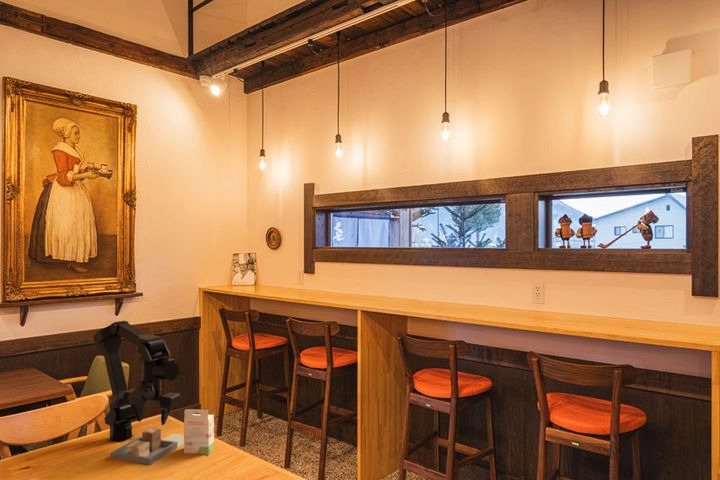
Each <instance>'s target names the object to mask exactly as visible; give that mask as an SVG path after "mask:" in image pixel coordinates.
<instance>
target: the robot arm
mask: <svg viewBox="0 0 720 480" xmlns="http://www.w3.org/2000/svg"><path fill="white" fill-rule="evenodd" d="M123 339H124V340H126V341H127V342H129V343H131V344H132V345H134V346H135V348H136V352H137V353H139V355H140V356H141V357H140V358H139V359H138V362H142V379H140V380H139V383H138V387H137V388H136V387H134V388H131V389H128V385H127V382H126V381H127V380H126V376H125V372H124V368H123V363H122V359H121V355H120V349H121V346H122V343H123ZM93 343H95V347H96V349H97V351H98V352H99V353H100V354H102V355H103V357H104V363H105V367H106V368H105V369H106V372H107V377H108V380H109V385H110V390H111V395H112V396H111V399H110V402H109V405H108V406H109V411H108V412H107V414H106V415H105V416H104V422H105V425H106V426H109V438H108V439H106V441H108V442H114V443H123V442H125V441H127V440H131V439H132V438H133V437H134V436H135V434H133V426H132V421H133V420H136V419H137V421H138V422H139V423H140V422H142V420H143V416H144V415H143V414H144V407H145V403H146V402H150V401H157V402H158V404H159V406H158V408H159V409H160V413H161V414H160V416H161V417H160V421H161V426H165V424H166V422H167V420H168V418H169V415H170V413H171V412H172V409H173V408H174V407H175V405H177V404H178V403H180V402H181V400H182V398H181V394H180V393H178V392H171V391H170V392H168V393H166V394H163V393H164V391H165V390H164V389H162V382H163V381H168V382H173V381H174V380H176V379H177V378H178V377H179V374H180V367H179V365H178V363H176V362H175V359H174V358H172V355H171V351H170V350H169V348H168V346H167V344H166V342H165V340H164V337H161V336H160V335H155V334H147V333H145V332H144V331H142V330H141V329H138V328H137V327H135V326H134V325H132V324H130V323H129V321H127V320H120V321H114V322H112V323H111V324H109V325H107V326H106V327H103V328H101V329H99V330H97V331H96V332H95V334H94V335H93Z"/></svg>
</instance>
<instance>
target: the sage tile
mask: <svg viewBox="0 0 720 480" xmlns="http://www.w3.org/2000/svg"><path fill="white" fill-rule="evenodd" d="M162 440H168V441H175V442H177V448H180V447H181V446H182V445H184V434H178V433H171V434H170V435H168V436H167V437H165V438H163V439H162Z"/></svg>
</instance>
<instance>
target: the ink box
mask: <svg viewBox="0 0 720 480" xmlns="http://www.w3.org/2000/svg"><path fill="white" fill-rule="evenodd" d="M214 417H215V415H214V414H209V410H208V409H187V408H186V409H184V419H183V435H184V444H183V453H184V454H199V455H200V454H201V455H203V454H204V455H207V456H210V454H211V453H212V451H213V450H214V449H215V418H214Z"/></svg>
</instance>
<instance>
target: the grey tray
mask: <svg viewBox="0 0 720 480" xmlns="http://www.w3.org/2000/svg"><path fill="white" fill-rule="evenodd" d="M136 441H142V436H137V437H136V438H135V439H133V440H131V441H129V442H127V443H124V445H122V446H120V447H118V448H116V449H114V450H112V451H110V459H112V460H116V461H124V462H131V463H135V464H142V465H149V466H151V465H152V464H154V463H156V462H157V461H159V460H161V459H162V458H164V457H165V456H167V455H168V454H170V453H171V452H173V451H174V450H176V449H177V448H178V447H177V442H175V441H168V440H163V439H161V447H160V448H158V449H157V450H155V451H154V452H149V455H148V456H146V457H144V456H138V455H132V454H127V446H128V445H130V444H132V443H134V442H136Z"/></svg>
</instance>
